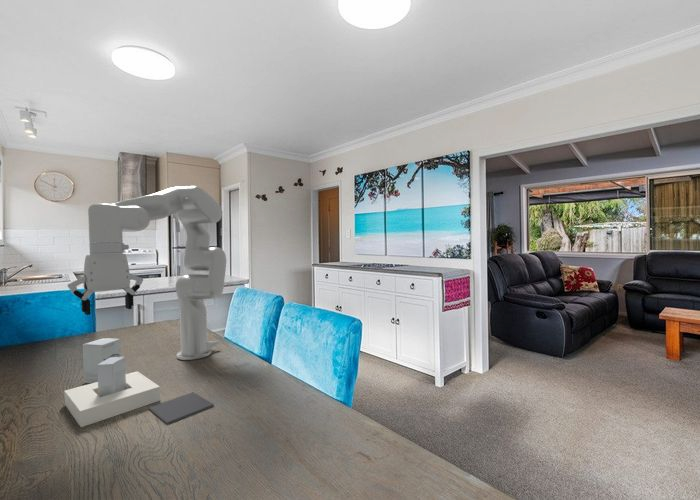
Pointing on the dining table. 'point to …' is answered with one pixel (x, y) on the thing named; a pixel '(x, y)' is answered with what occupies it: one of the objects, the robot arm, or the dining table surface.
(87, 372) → the supplement box
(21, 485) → the dining table surface
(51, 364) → the dining table surface
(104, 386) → the skincare box
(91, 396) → the bore holder
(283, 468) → the dining table surface
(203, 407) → the rubber mat
